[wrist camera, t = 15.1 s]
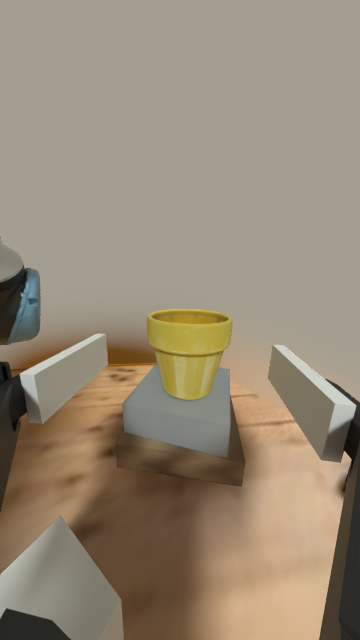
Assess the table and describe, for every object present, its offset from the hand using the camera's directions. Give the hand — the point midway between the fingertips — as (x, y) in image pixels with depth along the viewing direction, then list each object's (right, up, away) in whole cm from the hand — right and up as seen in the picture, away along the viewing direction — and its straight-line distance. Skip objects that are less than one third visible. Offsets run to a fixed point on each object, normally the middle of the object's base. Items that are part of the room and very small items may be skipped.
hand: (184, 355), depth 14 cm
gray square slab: (0, -10, +12) cm, 15 cm away
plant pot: (+1, -6, +11) cm, 12 cm away
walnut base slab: (0, -14, +13) cm, 19 cm away
